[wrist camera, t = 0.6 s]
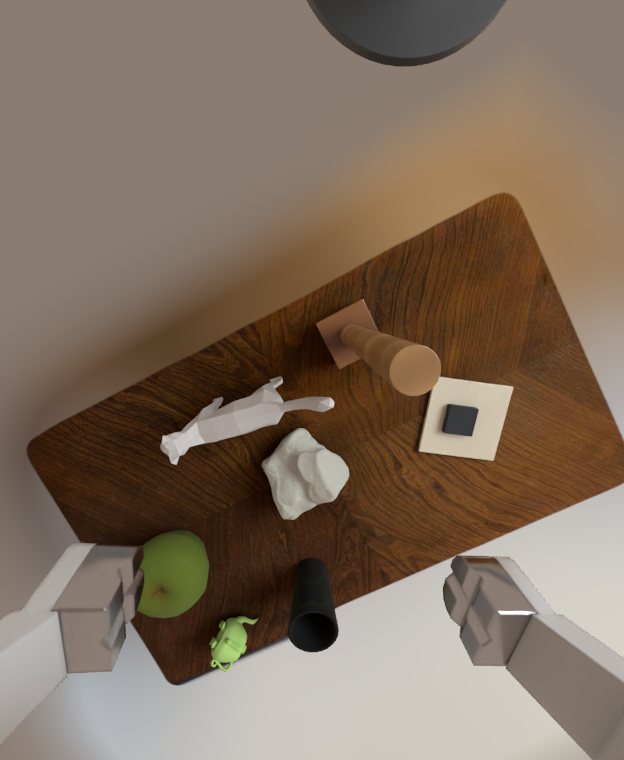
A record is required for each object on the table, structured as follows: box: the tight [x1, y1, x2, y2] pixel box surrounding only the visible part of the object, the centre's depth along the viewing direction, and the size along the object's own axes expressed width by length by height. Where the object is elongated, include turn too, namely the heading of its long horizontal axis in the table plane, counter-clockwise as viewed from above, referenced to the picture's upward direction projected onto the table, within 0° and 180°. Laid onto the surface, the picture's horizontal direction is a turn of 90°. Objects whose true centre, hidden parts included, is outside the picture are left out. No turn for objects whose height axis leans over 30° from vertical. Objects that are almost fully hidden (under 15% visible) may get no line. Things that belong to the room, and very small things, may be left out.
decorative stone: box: [262, 428, 349, 520], centre depth 44 cm, size 11×9×10 cm
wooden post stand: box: [316, 299, 441, 396], centre depth 30 cm, size 6×6×28 cm
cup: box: [288, 558, 338, 652], centre depth 46 cm, size 6×6×10 cm
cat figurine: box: [160, 376, 334, 465], centre depth 38 cm, size 4×20×14 cm, turn 109°
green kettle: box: [209, 616, 258, 671], centre depth 50 cm, size 6×5×6 cm
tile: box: [418, 377, 513, 461], centre depth 46 cm, size 11×11×1 cm
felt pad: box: [442, 404, 479, 437], centre depth 45 cm, size 4×4×1 cm
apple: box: [137, 530, 209, 618], centre depth 45 cm, size 11×10×10 cm
